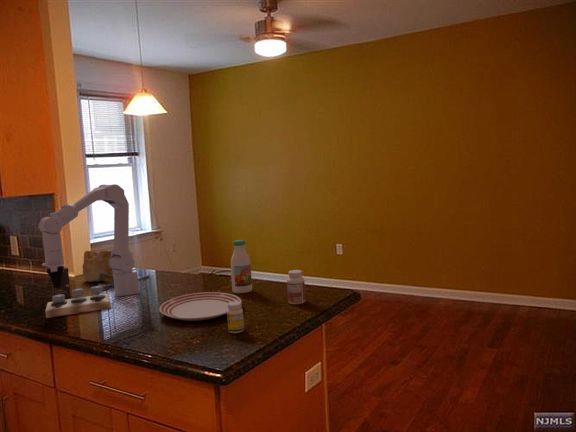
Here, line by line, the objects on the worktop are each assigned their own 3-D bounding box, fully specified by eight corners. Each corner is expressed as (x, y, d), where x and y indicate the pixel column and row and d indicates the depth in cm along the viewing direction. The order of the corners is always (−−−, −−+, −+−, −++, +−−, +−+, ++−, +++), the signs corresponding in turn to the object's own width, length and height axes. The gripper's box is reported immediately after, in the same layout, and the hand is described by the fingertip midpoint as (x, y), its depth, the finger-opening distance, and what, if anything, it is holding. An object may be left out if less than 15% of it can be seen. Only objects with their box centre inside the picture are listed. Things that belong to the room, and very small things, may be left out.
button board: (109, 299, 182) (108, 292, 182) (110, 307, 171) (110, 299, 171) (48, 308, 174) (47, 300, 173) (46, 318, 163) (45, 309, 162)
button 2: (102, 290, 178) (102, 285, 178) (103, 292, 174) (102, 287, 174) (91, 292, 176) (90, 286, 176) (91, 294, 173) (90, 289, 172)
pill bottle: (296, 298, 170) (295, 268, 169) (309, 301, 166) (307, 270, 164) (284, 302, 166) (282, 271, 165) (296, 306, 161) (295, 274, 160)
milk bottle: (228, 293, 182) (225, 242, 180) (238, 287, 189) (235, 238, 187) (246, 294, 179) (243, 242, 177) (255, 289, 186) (252, 238, 184)
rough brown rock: (141, 281, 213) (139, 248, 212) (106, 287, 200) (105, 251, 199) (113, 277, 227) (111, 246, 227) (79, 282, 214) (78, 249, 214)
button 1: (65, 299, 173) (64, 293, 173) (64, 301, 169) (64, 296, 169) (53, 300, 171) (52, 295, 171) (52, 303, 168) (51, 298, 168)
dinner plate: (258, 309, 161) (257, 299, 160) (190, 332, 141) (189, 322, 141) (210, 296, 180) (209, 287, 180) (144, 315, 161) (143, 306, 160)
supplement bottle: (228, 328, 143) (226, 301, 142) (244, 327, 143) (242, 300, 142) (228, 334, 138) (226, 306, 137) (244, 332, 138) (242, 304, 137)
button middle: (84, 293, 175) (83, 287, 175) (84, 295, 172) (83, 290, 171) (72, 294, 174) (71, 289, 174) (72, 297, 170) (71, 292, 170)
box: (54, 300, 185) (51, 270, 183) (53, 298, 188) (50, 268, 187) (71, 297, 188) (68, 268, 187) (69, 295, 192) (66, 266, 190)
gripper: (42, 248, 173) (46, 284, 175) (38, 255, 160) (43, 294, 162) (63, 246, 176) (67, 281, 178) (61, 252, 163) (66, 290, 164)
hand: (57, 287), depth 170 cm, fingers closed
